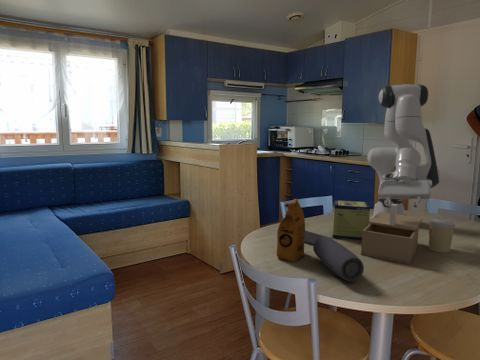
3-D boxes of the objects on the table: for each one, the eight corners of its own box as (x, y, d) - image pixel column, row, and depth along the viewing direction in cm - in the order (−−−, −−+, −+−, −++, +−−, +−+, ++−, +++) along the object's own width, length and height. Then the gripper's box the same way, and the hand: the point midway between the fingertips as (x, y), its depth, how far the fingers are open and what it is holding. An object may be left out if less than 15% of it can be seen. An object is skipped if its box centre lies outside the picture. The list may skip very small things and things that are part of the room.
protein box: (368, 240, 171) (370, 206, 168) (332, 238, 174) (334, 204, 172) (365, 234, 181) (367, 201, 179) (331, 231, 184) (333, 199, 182)
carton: (372, 241, 170) (374, 219, 169) (416, 249, 161) (419, 226, 159) (360, 254, 153) (362, 230, 152) (409, 264, 144) (411, 238, 142)
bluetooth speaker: (364, 284, 126) (366, 255, 125) (338, 286, 125) (340, 256, 123) (333, 259, 148) (335, 234, 147) (311, 260, 146) (312, 235, 145)
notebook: (278, 236, 178) (315, 247, 162) (278, 232, 178) (315, 244, 162) (295, 230, 186) (333, 241, 171) (295, 227, 186) (333, 238, 170)
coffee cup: (431, 244, 167) (434, 217, 166) (455, 249, 161) (458, 222, 159) (423, 249, 161) (426, 221, 159) (447, 255, 154) (450, 226, 152)
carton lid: (379, 213, 177) (380, 194, 175) (422, 219, 168) (424, 199, 166) (368, 223, 160) (370, 202, 159) (415, 230, 151) (417, 208, 149)
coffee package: (272, 258, 148) (273, 202, 144) (284, 249, 159) (286, 196, 155) (296, 263, 143) (298, 206, 140) (307, 253, 154) (310, 199, 150)
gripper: (432, 182, 160) (432, 211, 153) (381, 183, 171) (378, 210, 164) (431, 173, 156) (430, 202, 149) (379, 175, 166) (375, 202, 159)
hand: (402, 206), depth 156 cm, fingers open, 8 cm apart
